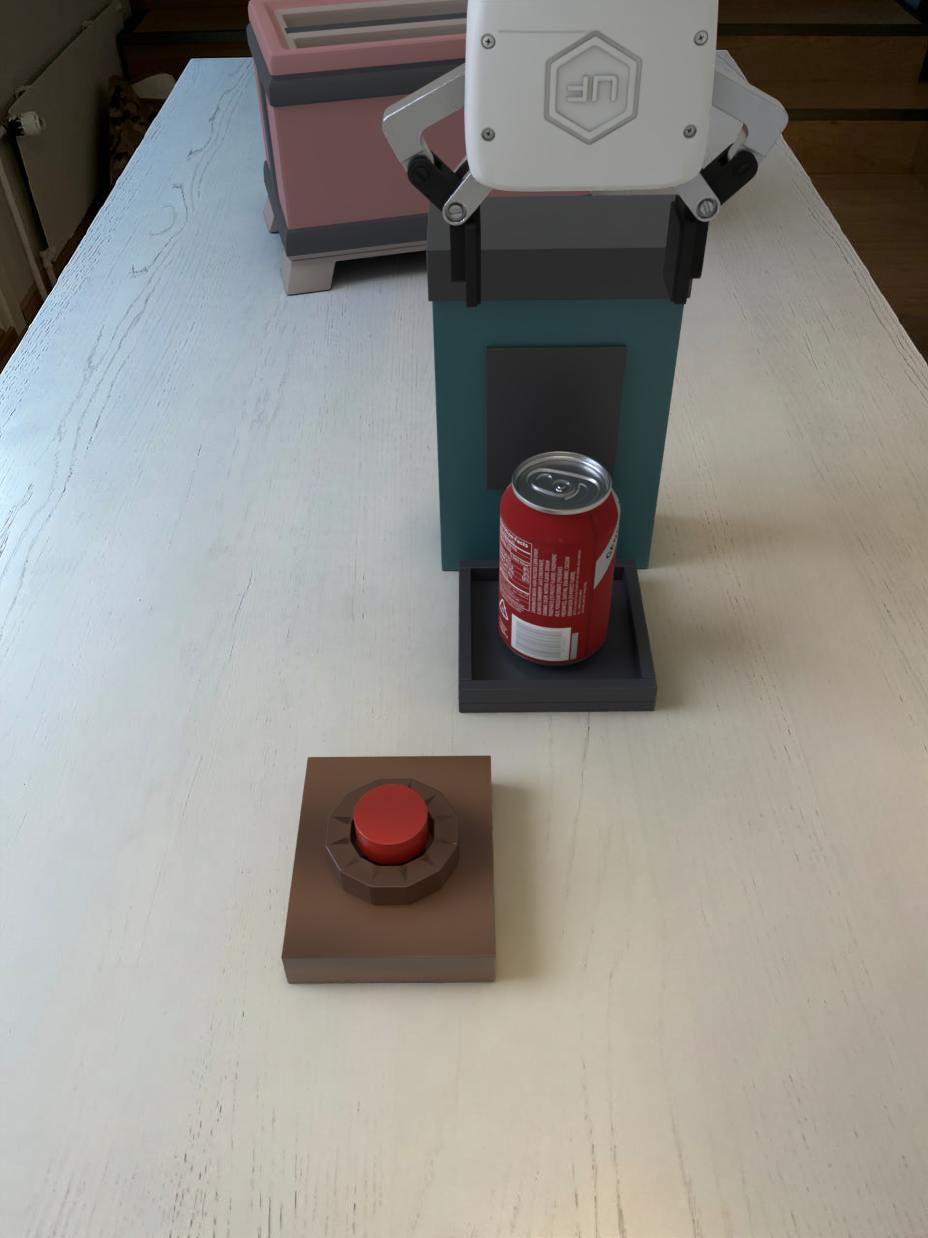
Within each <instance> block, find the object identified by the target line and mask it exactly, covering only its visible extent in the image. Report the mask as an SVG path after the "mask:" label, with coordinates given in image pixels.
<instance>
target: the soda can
mask: <svg viewBox="0 0 928 1238" xmlns="http://www.w3.org/2000/svg"><path fill="white" fill-rule="evenodd" d="M611 486H612V481H611V476H610V474H609V472H608V470H607V469H606V468H605V467H604V466H603V465H602V464H601V463H599V462H598V461H596V460H595V459H593V458H591V457H588V456H586V455H583V454H579V453H575V452H568V451H551V452H544V453H540V454H537V455H534V456H531V457H529V458H527V459H526V460H524V461H523V462H521V463H520V464H519V465H518V466H517V467H516V469H515V470H514V472H513V475H512V483H511V484H510V485H509V486H508V487H507V489H506V490H505V492H504V493H503V495H502V498H501V502H500V550H499V632H500V636H501V638H502V640H503V642H504V643H505V645H506V646H507V647H508V648H509V649H510V650H511V651H512V652H514V653H515V654H516V655H518V656H519V657H521V658H523V659H525V660H528V661H530V662H533V663H537V664H541V665H548V666H563V665H569V664H574V663H577V662H580V661H583V660H585V659H587V658H588V657H590V656H592V655H593V654H594V653H596V652H597V651H598V650H599V649H600V648H601V646H602V645H603V643H604V641H605V639H606V636H607V631H608V621H609V612H610V603H611V594H612V584H613V575H614V566H615V557H616V548H617V538H618V529H619V520H620V503H619V500H618V497H617V495H616V494H615V492H614V491H613V489H612V488H611Z"/></svg>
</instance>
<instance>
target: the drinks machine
mask: <svg viewBox="0 0 928 1238" xmlns="http://www.w3.org/2000/svg"><path fill="white" fill-rule="evenodd" d="M676 195H677V194H617V195H616V194H614V195H613V194H612V195H611V194H610V195H609V194H608V195H606V194H605V195H603V194H602V195H601V194H600V195H593V196H523V197H486V198H485V199H484V200H483V202H482V203H481V204H480V216H481V304H477V307H466V282H451V257H450V224H449V223H447V222H446V221H445V219H444V217H443V213H442V212H441V211H440V210H439V209H438V208H437V207H436V206H435V205H434V204H433V203H432V202H430V201H429V211H428V229H427V247H426V250H425V251H426V252H425V253H426V279H427V300H428V302H431V307H432V309H431V310H432V336H433V337H432V338H433V362H434V391H435V392H434V393H435V394H434V395H435V419H436V420H435V421H436V423H435V424H436V446H437V447H436V448H437V450H436V451H437V474H438V475H437V476H438V477H437V478H438V502H439V503H438V505H439V506H438V507H439V531H440V532H439V534H440V559H441V560H440V561H441V562H440V563H441V571H459V561H460V560H499V550H500V502H501V498H502V495H503V493H504V492H505V490H506V489H507V487H508V486H509V485H510V484H511V483H512V475H513V472H514V470H515V469H516V467H517V466H518V465H519V464H520V463H521V462H523V461H524V460H526V459H527V458H529V457H531V456H534V455H537V454H540V453H544V452H551V451H568V452H575V453H579V454H583V455H586V456H588V457H591V458H593V459H595V460H596V461H598V462H599V463H601V464H602V465H603V466H604V467H605V468H606V469H607V470H608V472H609V474H610V476H611V481H612V486H611V488H612V489H613V491H614V492H615V494H616V495H617V497H618V500H619V503H620V520H619V529H618V538H617V548H616V557H615V559H635V562H636V567H637V570H638V569H648V568H649V562H650V555H651V549H652V541H653V534H654V527H655V521H656V520H655V519H656V513H657V505H658V498H659V491H660V483H661V477H662V469H663V462H664V455H665V447H666V439H667V431H668V424H669V419H670V411H671V403H672V396H673V388H674V381H675V374H676V367H677V361H678V360H677V359H678V351H679V345H680V337H681V330H682V323H683V317H684V310H685V309H684V308H685V304H674V302H670V299H669V296H668V292H667V289H666V286H665V282H664V279H663V266H664V258H665V249H666V241H667V232H668V223H669V215H670V206H671V202H672V201H675V196H676ZM693 281H694V279H690V280H689V288H688V295H687V299H690V298H691V295H692V289H693V288H692V287H693Z"/></svg>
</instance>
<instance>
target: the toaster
mask: <svg viewBox="0 0 928 1238" xmlns="http://www.w3.org/2000/svg"><path fill="white" fill-rule="evenodd" d="M467 7H468V0H249V1H248V5H247V12H248V13H247V14H248V21H249V23H247V26H246V29H245V30H246V37H247V38H246V39H247V44H248V47H249V51H250V53H251V56H252V61H253V70H254V77H255V84H256V92H257V99H258V106H259V113H260V121H261V129H262V136H263V144H264V150H265V151H264V152H265V158H266V159H265V160H264V161H263V169H262V171H263V183H264V186H265V190H266V193H267V197H266V201H265V204H264V207H263V211H262V214H263V217H264V220H265V224H266V228H267V231H268V233H277V232H278V234H279V237H280V240H281V243H282V246H283V247H282V253H281V259H280V266H279V273H280V277H281V281H282V283H283V287H284V291H285V295H286V296H291V295H298V294H305V293H306V294H307V293H314V292H321V291H328V290H330V289H331V287H332V282H333V276H334V273H335V266H336V262H340V261H342V262H343V261H347V260H358V259H365V258H375V257H380V256H381V257H382V256H389V255H390V256H391V255H398V254H405V253H415V252H422V251H426V247H427V229H428V211H429V200H428V199H427V198H426V197H425V196H424V195H423V194H422V193H421V192H420V191H419V190H418V189H417V188H416V187H415V186H413V185H412V184H411V182H410V181H409V179H408V176H407V172H406V171H405V169H404V167H403V165H402V164H401V163H400V162H399V160H398V158H397V156H396V154H395V153H394V151H393V149H392V147H391V146H390V144H389V142H388V140H387V139H386V137H385V135H384V133H383V131H382V120H383V114H384V112H385V110H386V109H387V108H388V107H389V106H391V105H393V104H395V103H396V102H398V101H400V100H401V99H403V98H405V97H407V96H408V95H410V94H412V93H414V92H415V91H417V90H419V89H420V88H422V87H424V86H426V85H427V84H429V83H431V82H433V81H434V80H436V79H438V78H439V77H441V76H443V75H445V74H446V73H448V72H450V71H452V70H453V69H455V68H457V67H458V66H460V65H462V64H464V63H465V56H466V32H467ZM422 135H423V137H424V139H425V142H426V144H427V146H428V147H429V149H430V150H431V151H432V152H433V153H435V154H436V155H437V156H438V157H439V158H440V159H441V160H442V161H443V162H444V163H445V164H446V165H447V166H448V167H449V168H450V169H451V170H452V171H453V170H454V169H455V168H456V167H457V165H458V164H459V163H460V162H461V160H462V159H463V158H464V157H465V155H466V154H467V153H466V142H465V119H464V107H463V108H461V109H460V110H458V111H456V112H454V113H453V114H451V115H449V116H447V117H445V118H444V119H442V120H440V121H438V122H437V123H435V124H433V125H431V126H429V127H428V128H426V129H425V130H424V131H422ZM523 196H594V195H593V194H592V191H538V192H531V191H503V190H497V189H493V190H492V191H491V192H490V193H489V194H488V196H487V197H523Z"/></svg>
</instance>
